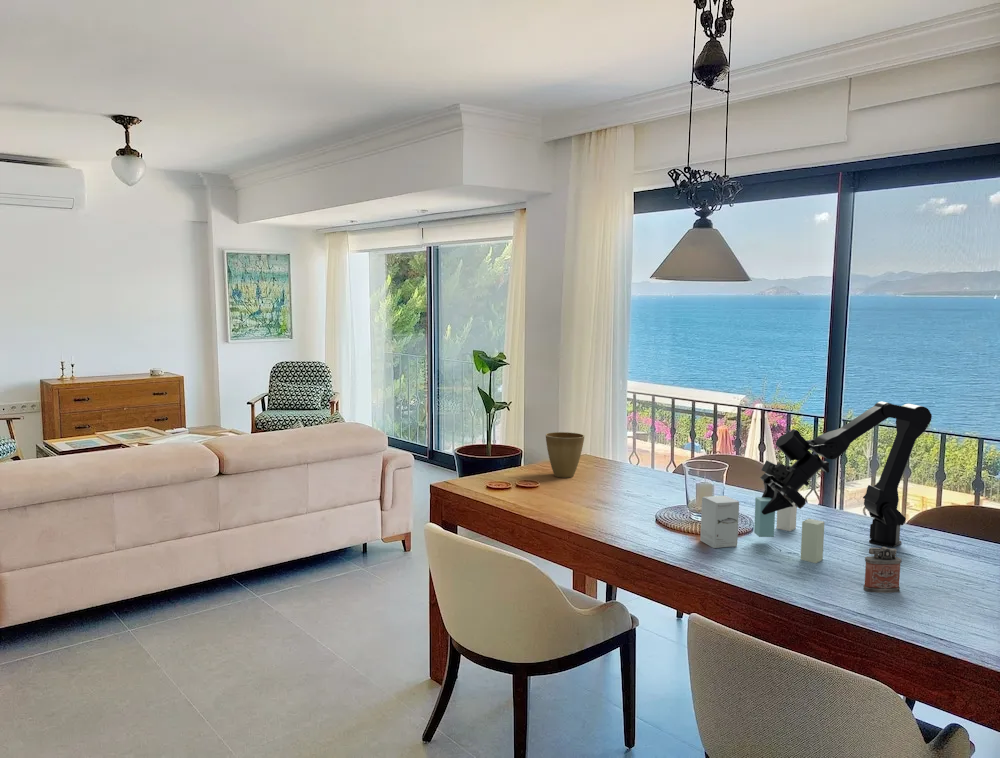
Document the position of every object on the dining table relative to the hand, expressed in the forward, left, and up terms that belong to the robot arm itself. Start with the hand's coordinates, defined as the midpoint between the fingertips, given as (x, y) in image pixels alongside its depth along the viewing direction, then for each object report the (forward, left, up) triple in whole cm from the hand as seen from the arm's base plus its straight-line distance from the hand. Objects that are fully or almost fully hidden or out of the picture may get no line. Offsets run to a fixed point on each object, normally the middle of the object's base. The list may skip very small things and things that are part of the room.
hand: (759, 511), depth 203 cm
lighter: (-36, +12, -9) cm, 39 cm away
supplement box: (+7, +9, -9) cm, 15 cm away
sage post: (-16, +3, -9) cm, 19 cm away
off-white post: (+1, -19, -9) cm, 21 cm away
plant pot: (+91, -23, -9) cm, 94 cm away
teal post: (-1, -1, -7) cm, 7 cm away
